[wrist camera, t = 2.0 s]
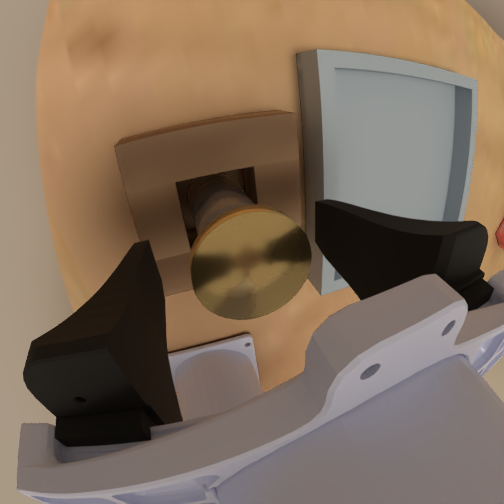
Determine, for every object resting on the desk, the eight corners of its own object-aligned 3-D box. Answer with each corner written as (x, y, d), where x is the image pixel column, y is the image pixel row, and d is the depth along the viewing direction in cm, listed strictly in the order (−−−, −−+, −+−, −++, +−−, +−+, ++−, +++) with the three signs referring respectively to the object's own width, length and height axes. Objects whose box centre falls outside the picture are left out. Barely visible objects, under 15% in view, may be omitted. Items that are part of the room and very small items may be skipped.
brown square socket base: (286, 242, 20) (302, 260, 18) (158, 274, 19) (159, 297, 17) (277, 110, 16) (296, 113, 14) (121, 139, 14) (114, 146, 12)
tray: (440, 233, 26) (457, 244, 24) (306, 276, 23) (320, 295, 21) (455, 76, 17) (477, 79, 15) (296, 53, 14) (316, 49, 12)
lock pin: (251, 219, 19) (310, 301, 12) (184, 235, 18) (206, 331, 11) (243, 152, 16) (311, 201, 10) (168, 167, 16) (177, 231, 9)
